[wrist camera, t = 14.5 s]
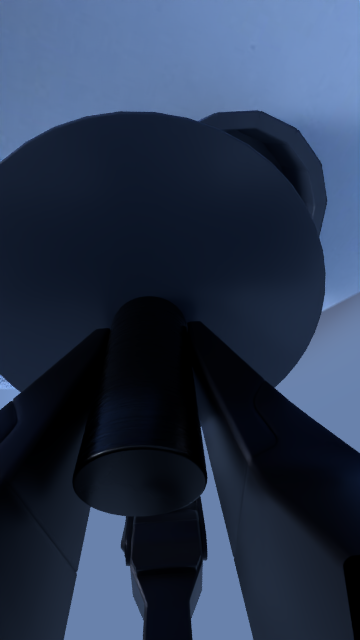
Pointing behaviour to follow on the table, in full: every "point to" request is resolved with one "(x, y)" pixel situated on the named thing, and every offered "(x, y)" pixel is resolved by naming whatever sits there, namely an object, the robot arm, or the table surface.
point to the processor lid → (150, 284)
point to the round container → (279, 153)
